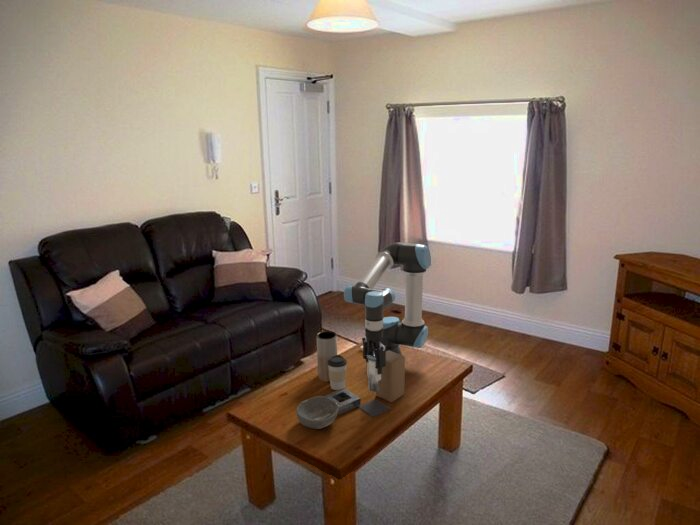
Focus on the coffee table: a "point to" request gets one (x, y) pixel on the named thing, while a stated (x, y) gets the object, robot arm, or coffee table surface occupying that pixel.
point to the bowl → (317, 412)
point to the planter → (325, 352)
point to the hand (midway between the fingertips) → (374, 377)
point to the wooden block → (392, 377)
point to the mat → (374, 408)
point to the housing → (344, 394)
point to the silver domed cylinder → (372, 373)
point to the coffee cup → (337, 372)
